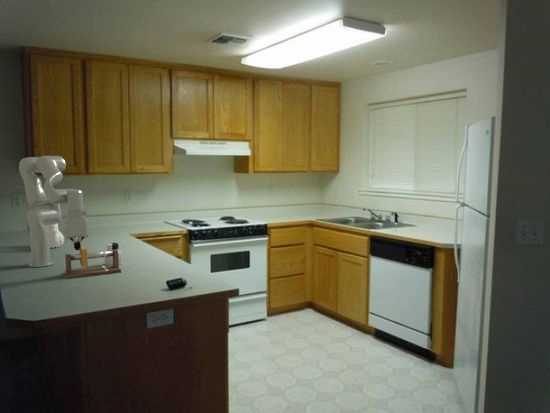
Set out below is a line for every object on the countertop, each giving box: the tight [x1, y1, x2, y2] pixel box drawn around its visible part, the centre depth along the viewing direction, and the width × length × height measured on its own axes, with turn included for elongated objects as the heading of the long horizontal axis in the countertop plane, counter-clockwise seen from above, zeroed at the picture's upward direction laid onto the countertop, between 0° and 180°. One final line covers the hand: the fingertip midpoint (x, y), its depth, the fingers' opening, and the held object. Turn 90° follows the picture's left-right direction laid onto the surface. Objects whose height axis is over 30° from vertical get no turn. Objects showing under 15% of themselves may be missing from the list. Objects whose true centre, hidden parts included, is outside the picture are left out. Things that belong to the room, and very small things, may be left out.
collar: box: [78, 245, 89, 268], centre depth 236 cm, size 9×2×9 cm, turn 30°
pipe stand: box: [64, 250, 122, 280], centre depth 238 cm, size 15×25×11 cm, turn 120°
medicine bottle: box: [104, 242, 123, 266], centre depth 257 cm, size 7×7×12 cm
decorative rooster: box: [44, 223, 65, 249], centre depth 307 cm, size 25×16×25 cm, turn 21°
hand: (77, 249), depth 234 cm, fingers closed
